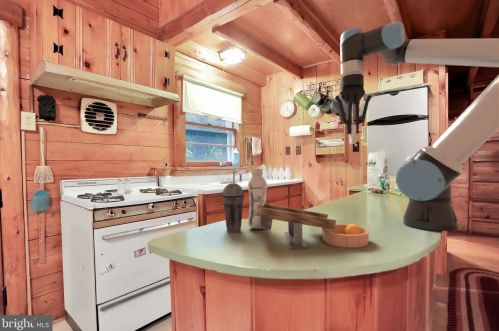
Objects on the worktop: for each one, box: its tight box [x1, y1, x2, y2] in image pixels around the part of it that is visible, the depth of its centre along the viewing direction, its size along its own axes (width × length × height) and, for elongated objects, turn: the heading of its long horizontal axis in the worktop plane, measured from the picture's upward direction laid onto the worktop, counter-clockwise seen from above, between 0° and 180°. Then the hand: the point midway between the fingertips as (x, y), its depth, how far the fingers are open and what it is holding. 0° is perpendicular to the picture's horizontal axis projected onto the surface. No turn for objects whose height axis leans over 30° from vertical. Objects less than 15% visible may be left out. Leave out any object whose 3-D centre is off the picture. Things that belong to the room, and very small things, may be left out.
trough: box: [259, 202, 337, 231], centre depth 74 cm, size 20×15×6 cm
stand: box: [284, 222, 308, 250], centre depth 71 cm, size 4×13×6 cm, turn 179°
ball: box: [346, 223, 361, 235], centre depth 71 cm, size 4×4×4 cm
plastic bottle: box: [247, 168, 268, 230], centre depth 85 cm, size 6×7×20 cm
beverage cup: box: [221, 169, 245, 233], centre depth 83 cm, size 7×7×20 cm
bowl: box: [321, 223, 370, 249], centre depth 71 cm, size 12×12×3 cm
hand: (352, 143), depth 89 cm, fingers closed
